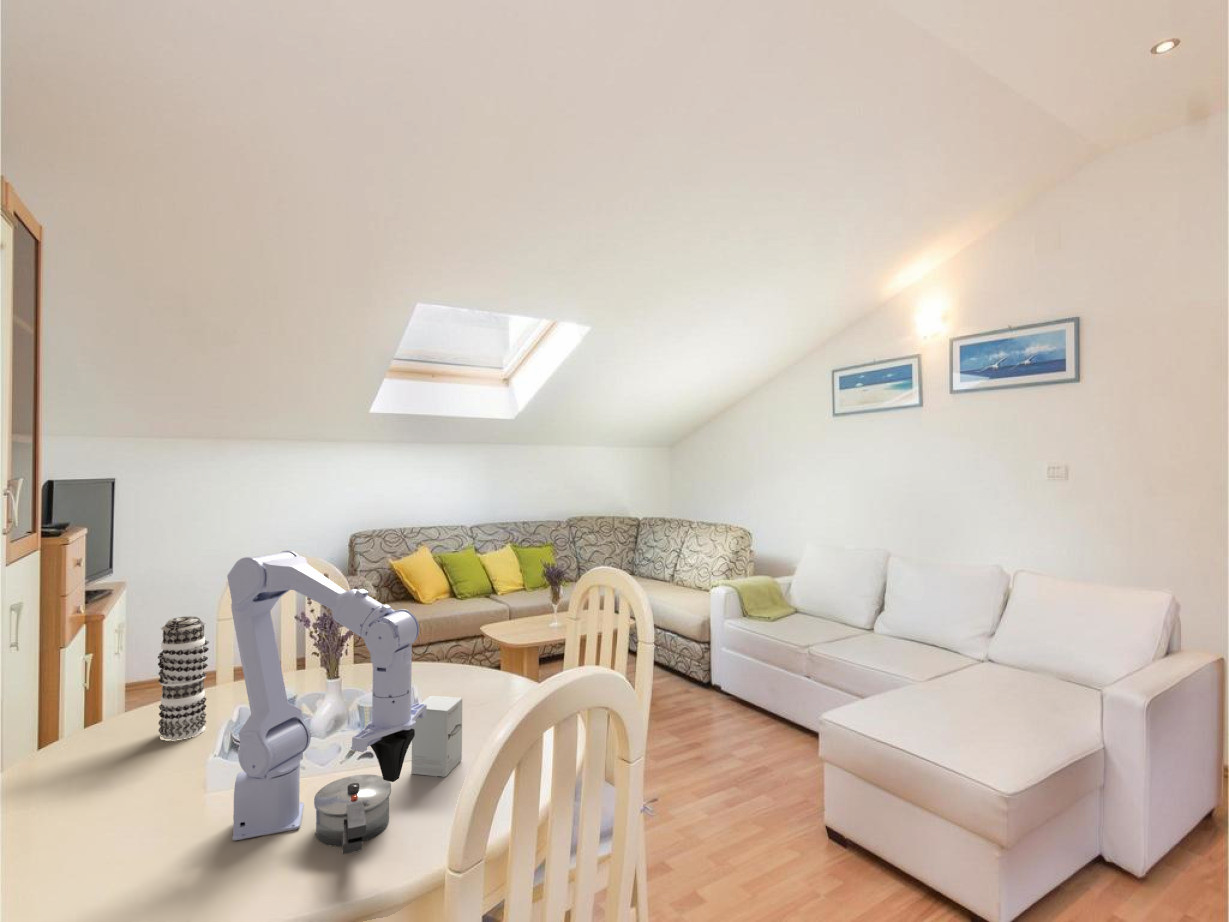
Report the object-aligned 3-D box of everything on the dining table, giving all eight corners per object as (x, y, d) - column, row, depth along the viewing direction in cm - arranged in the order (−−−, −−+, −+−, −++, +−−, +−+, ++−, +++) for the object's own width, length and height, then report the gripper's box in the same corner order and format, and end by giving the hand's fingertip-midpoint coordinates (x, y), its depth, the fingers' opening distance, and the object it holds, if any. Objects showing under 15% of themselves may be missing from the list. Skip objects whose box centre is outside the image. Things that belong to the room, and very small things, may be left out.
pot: (310, 880, 90) (310, 849, 90) (318, 815, 107) (318, 788, 107) (392, 863, 94) (392, 832, 94) (387, 803, 111) (387, 777, 111)
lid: (314, 787, 107) (314, 776, 107) (387, 773, 112) (387, 763, 112) (312, 847, 90) (312, 834, 90) (398, 828, 95) (399, 816, 95)
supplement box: (446, 778, 120) (446, 711, 120) (410, 774, 121) (410, 707, 122) (463, 760, 127) (463, 697, 127) (429, 757, 129) (429, 694, 129)
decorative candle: (216, 730, 141) (217, 617, 141) (168, 746, 133) (170, 626, 133) (195, 721, 146) (196, 612, 146) (149, 735, 138) (150, 620, 138)
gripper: (379, 711, 91) (378, 807, 91) (442, 680, 104) (441, 763, 104) (341, 704, 93) (340, 797, 93) (407, 674, 107) (406, 755, 107)
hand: (391, 779), depth 99 cm, fingers closed
